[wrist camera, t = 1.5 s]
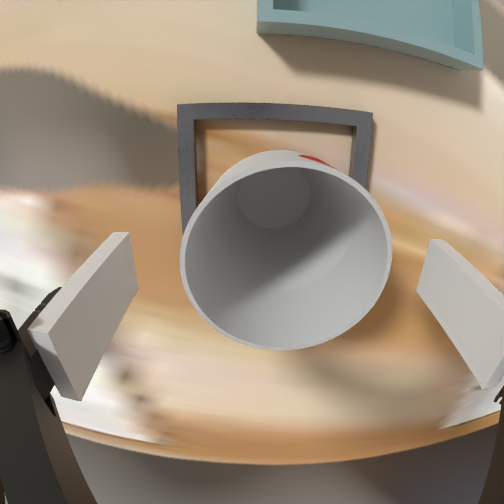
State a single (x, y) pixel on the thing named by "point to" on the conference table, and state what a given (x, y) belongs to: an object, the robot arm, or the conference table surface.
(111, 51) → the conference table surface
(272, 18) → the bin
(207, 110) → the grey flat square frame
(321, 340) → the cup
